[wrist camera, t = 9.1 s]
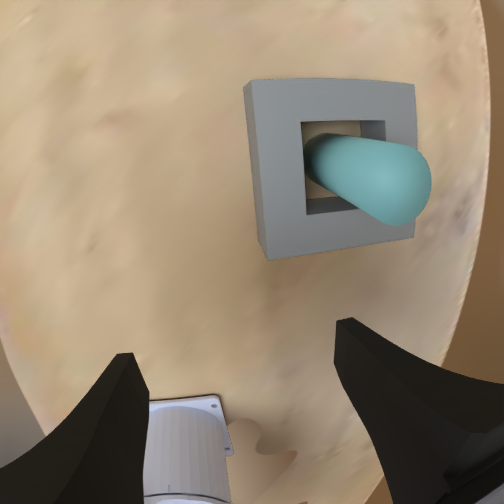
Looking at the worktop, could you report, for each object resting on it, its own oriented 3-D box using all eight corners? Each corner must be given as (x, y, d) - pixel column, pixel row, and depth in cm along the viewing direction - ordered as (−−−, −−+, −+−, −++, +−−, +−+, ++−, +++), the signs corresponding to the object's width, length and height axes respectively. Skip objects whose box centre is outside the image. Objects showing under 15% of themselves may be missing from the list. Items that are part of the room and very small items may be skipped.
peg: (350, 183, 19) (428, 222, 12) (302, 186, 19) (363, 229, 12) (349, 132, 18) (432, 145, 11) (300, 134, 18) (365, 144, 10)
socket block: (389, 222, 21) (413, 237, 18) (258, 241, 20) (267, 260, 17) (387, 87, 17) (414, 84, 14) (243, 87, 16) (250, 80, 14)
